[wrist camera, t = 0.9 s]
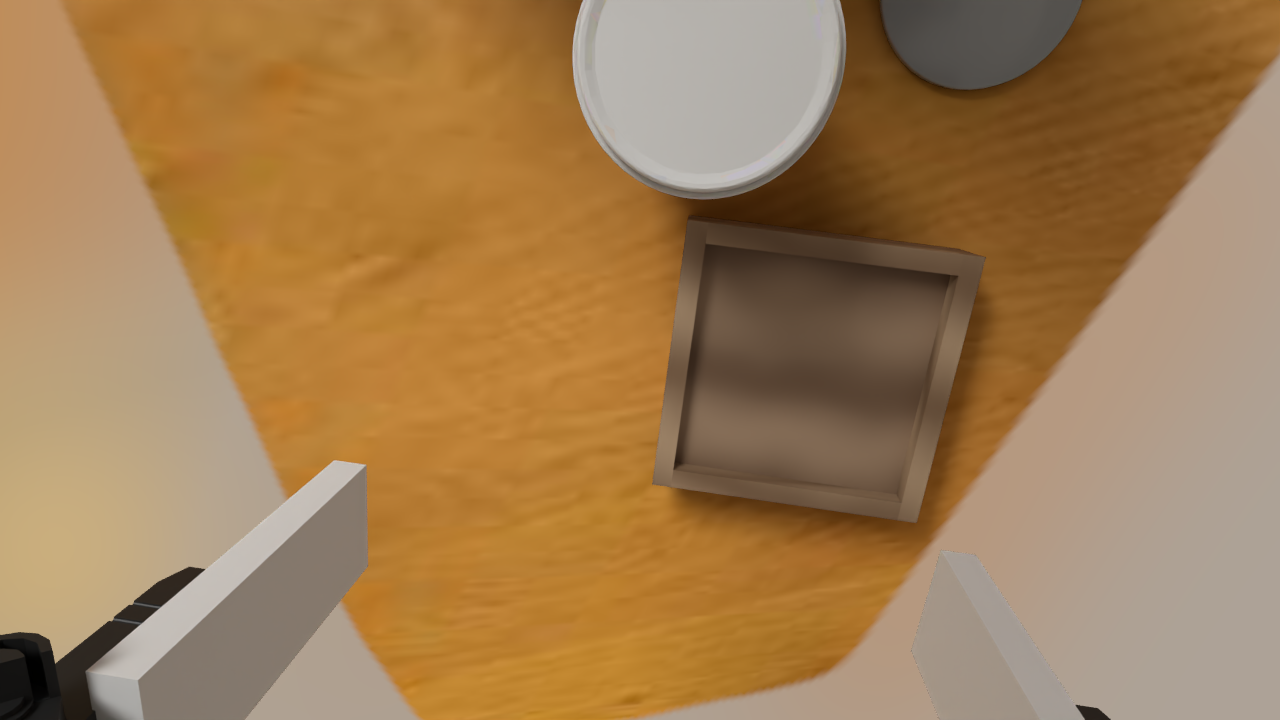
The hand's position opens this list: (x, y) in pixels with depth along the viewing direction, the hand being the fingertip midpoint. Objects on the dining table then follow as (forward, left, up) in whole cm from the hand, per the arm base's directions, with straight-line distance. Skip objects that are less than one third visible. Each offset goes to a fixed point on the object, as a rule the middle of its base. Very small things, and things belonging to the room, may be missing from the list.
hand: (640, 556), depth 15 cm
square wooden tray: (+1, +7, -23) cm, 24 cm away
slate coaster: (-18, +12, -23) cm, 32 cm away
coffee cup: (-12, 0, -23) cm, 26 cm away
